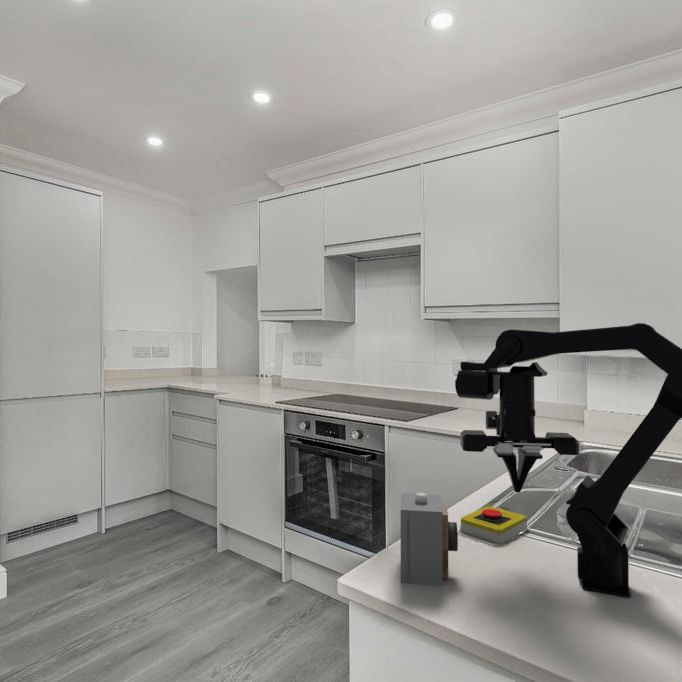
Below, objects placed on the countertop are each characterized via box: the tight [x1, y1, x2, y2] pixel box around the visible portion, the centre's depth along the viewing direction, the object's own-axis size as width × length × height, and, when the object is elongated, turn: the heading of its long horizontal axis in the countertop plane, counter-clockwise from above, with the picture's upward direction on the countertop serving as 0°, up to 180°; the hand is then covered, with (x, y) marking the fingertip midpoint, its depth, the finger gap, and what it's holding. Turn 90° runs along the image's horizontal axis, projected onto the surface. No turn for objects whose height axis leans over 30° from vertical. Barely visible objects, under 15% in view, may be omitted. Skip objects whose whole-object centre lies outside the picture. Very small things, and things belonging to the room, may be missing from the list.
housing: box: [400, 492, 444, 586], centre depth 80 cm, size 6×9×13 cm
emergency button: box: [457, 505, 528, 548], centre depth 97 cm, size 9×4×15 cm
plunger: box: [441, 504, 459, 579], centre depth 79 cm, size 6×5×10 cm
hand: (517, 491), depth 83 cm, fingers closed
